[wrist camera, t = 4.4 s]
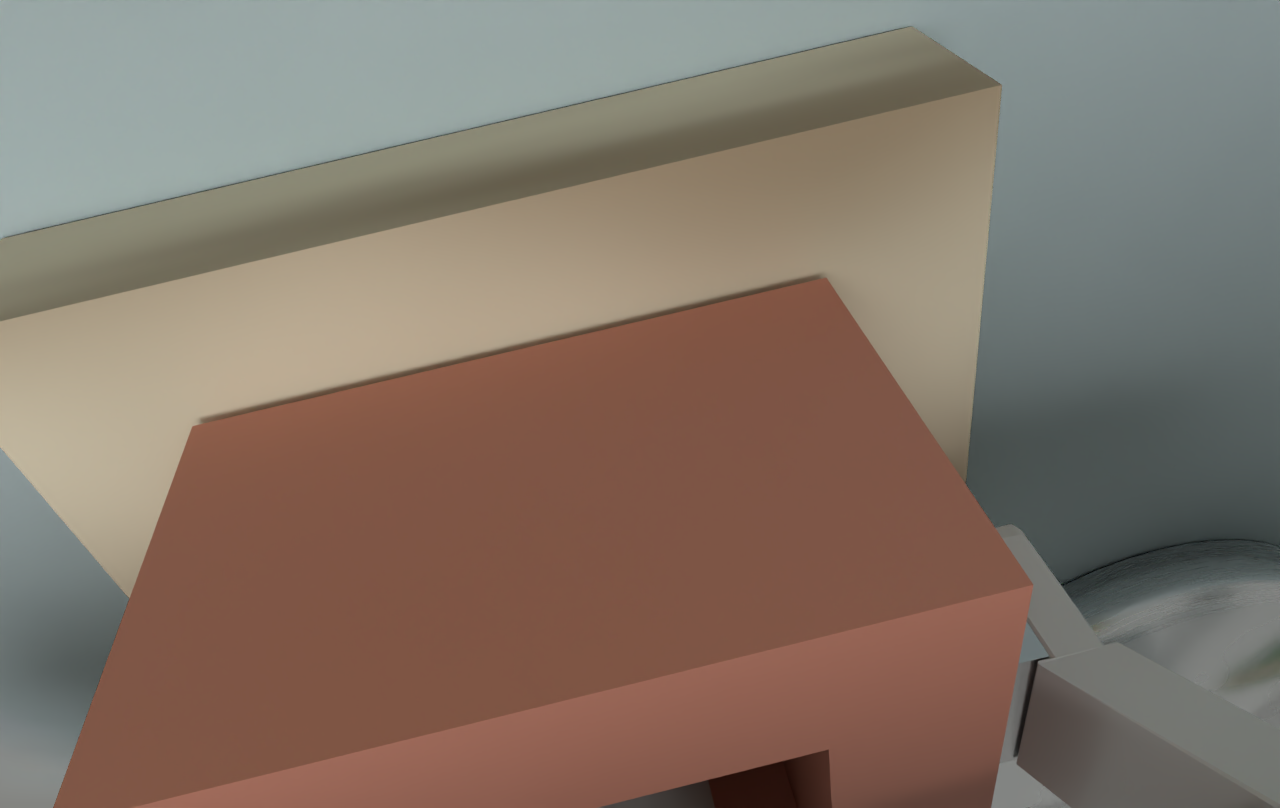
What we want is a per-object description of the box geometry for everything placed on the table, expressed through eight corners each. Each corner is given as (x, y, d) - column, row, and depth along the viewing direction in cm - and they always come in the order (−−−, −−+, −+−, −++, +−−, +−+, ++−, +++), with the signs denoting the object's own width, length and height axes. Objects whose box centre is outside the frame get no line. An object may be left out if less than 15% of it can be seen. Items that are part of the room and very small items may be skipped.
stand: (1, 239, 9) (-537, 855, 4) (911, 25, 10) (1432, 366, 4) (352, 736, 16) (306, 1225, 10) (897, 598, 16) (1109, 1010, 11)
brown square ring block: (192, 426, 9) (46, 828, 5) (826, 277, 9) (1033, 584, 6) (407, 759, 13) (393, 1100, 9) (838, 652, 13) (963, 951, 10)
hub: (923, 609, 16) (1033, 815, 13) (1386, 491, 16) (1600, 666, 13) (910, 833, 22) (986, 1013, 19) (1256, 742, 22) (1385, 905, 19)
